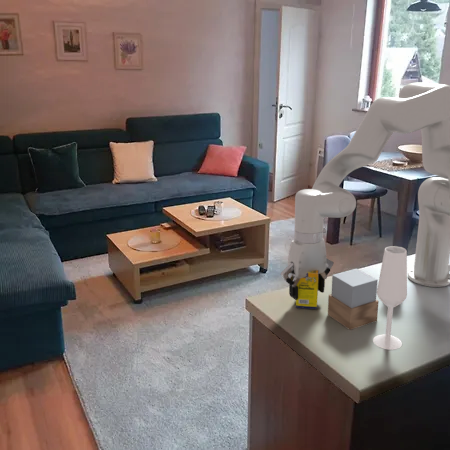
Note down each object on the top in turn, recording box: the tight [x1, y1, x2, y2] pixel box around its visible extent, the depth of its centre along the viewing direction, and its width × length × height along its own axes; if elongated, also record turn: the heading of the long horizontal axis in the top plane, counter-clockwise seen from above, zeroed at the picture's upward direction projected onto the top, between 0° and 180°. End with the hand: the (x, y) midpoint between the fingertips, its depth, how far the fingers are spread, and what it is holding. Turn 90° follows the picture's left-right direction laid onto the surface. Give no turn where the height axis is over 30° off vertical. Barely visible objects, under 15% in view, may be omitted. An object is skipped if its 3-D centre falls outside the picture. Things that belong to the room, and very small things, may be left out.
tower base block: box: [327, 293, 379, 330], centre depth 129 cm, size 9×9×6 cm
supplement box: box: [295, 270, 319, 310], centre depth 136 cm, size 6×6×11 cm
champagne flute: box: [372, 245, 408, 351], centre depth 115 cm, size 7×7×24 cm
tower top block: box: [331, 268, 379, 308], centre depth 127 cm, size 8×8×6 cm
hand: (306, 293), depth 137 cm, fingers closed on supplement box, 8 cm apart
